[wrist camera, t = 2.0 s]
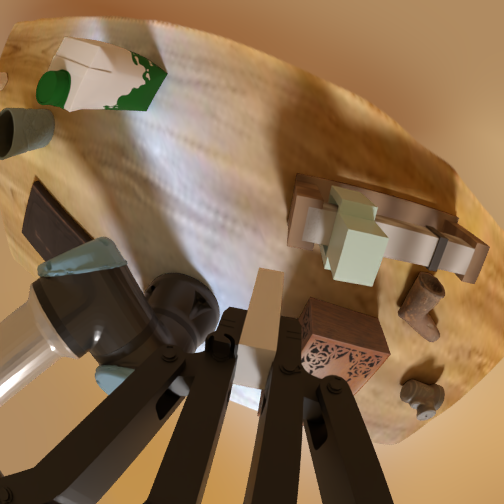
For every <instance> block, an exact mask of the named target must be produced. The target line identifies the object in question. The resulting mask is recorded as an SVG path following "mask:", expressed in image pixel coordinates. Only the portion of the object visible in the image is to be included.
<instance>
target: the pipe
mask: <svg viewBox="0 0 504 504" xmlns="http://www.w3.org/2000/svg"><path fill="white" fill-rule="evenodd" d="M444 296H445V290H444V287H443V286H442V284H441V283H440V282H439V280H438V279H437V278H436V277H434V276H433V275H432V274H430V273H427V272H420V273H419V276H418V277H417V279H416V280H415V282H414V284H413V286H412V288H411V289H410V291H409V293H408V295H407V297H406V299H405V301H404V303H403V305H402V306H401V308H400V309H399V311H398V315H399V317H401V318H402V319H404V320H405V321H406V322H407V323H408V324H409V325H410V326H411V327H412V328H413V329H414V330H415V331H417V332H418V333H419V334H420V335H421V336H422V337H424V338H425V339H426V340H428V341H429V342H434V341H436V340H438V339H439V337H440V333H439V331H438V329H437V327H436V325H435V323H434V321H433V320H432V318H431V316H430V315H429V313H428V312H429V311H430V310H431V309H433V308H434V307H435V306H436V305H437V303H438V302H439V301H440V299H441V298H443V297H444Z"/></svg>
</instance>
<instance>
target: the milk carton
mask: <svg viewBox="0 0 504 504" xmlns="http://www.w3.org/2000/svg"><path fill="white" fill-rule="evenodd" d="M166 76H167V73H166V72H165V71H163V70H162V69H161V68H159V67H158V66H156V65H155V64H154V63H152V62H151V61H150V60H148V59H146V58H145V57H143V56H140V55H139V54H136V53H134V52H131V51H129V50H126V49H124V48H121V47H118V46H115V45H113V44H109V43H105V42H101V41H97V40H90V39H82V38H73V37H64V39H63V41H62V43H61V45H60V47H59V49H58V51H57V53H56V55H54V57H53V59H52V61H51V64H50V67H49V69H48V71H47V72H46V73H45V74H44V75H43V76H42V77H41V79H40V81H39V83H38V85H37V89H36V99H37V101H38V103H39V104H41V105H53V106H56V107H60V108H62V109H66V110H67V111H69V112H71V111H76V110H80V109H106V110H132V111H147V109H148V107H149V105H150V103H151V102H152V100H153V98H154V96H155V94H156V93H157V91H158V89H159V87H160V86H161V84H162V82H163V81H164V79H165V77H166Z"/></svg>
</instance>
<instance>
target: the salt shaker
mask: <svg viewBox="0 0 504 504" xmlns="http://www.w3.org/2000/svg"><path fill="white" fill-rule="evenodd" d="M7 81H8V78H7V73H6V72H0V90H2V89H3V88H4V86H5V85H6V83H7Z"/></svg>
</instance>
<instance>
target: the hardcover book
mask: <svg viewBox="0 0 504 504" xmlns="http://www.w3.org/2000/svg"><path fill="white" fill-rule="evenodd" d="M22 233H23V235H24V236H25V237H26V238H27V240H28V241H29V242H30V243H31V245H32V246H33V247H34V248H35V250H36V251H37V252H38V253H39V254H40V256H41V257H42V258H43V259H44V260H45V261H48V260H50V259H52V258H54V257H56V256H58V255H60V254H62V253H65V252H67V251H69V250H71V249H73V248H76V247H78V246H80V245H82V244H85V243H87V242H89V241H92V239H91V238H90V237H89V236H88V235H87V234H86V233H85V231H84V230H83V229H82V228H81V227H80V226H79V225H78V224H77V223H76V222H75V221H74V220H73V219H72V218H71V217H70V216H69V215H68V214H67V213H66V212H65V210H64V209H63V208H62V207H61V206H60V205H59V204H58V203H57V202H56V200H55V199H54V198H53V197H52V196H51V195H50V194H49V192H48V191H47V190H46V189H45V188H44V187H43V185H42V184H41V183H40V182H39V181H36V182H34V183H33V185H32V189H31V193H30V196H29V200H28V204H27V209H26V213H25V218H24V223H23V228H22Z"/></svg>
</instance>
